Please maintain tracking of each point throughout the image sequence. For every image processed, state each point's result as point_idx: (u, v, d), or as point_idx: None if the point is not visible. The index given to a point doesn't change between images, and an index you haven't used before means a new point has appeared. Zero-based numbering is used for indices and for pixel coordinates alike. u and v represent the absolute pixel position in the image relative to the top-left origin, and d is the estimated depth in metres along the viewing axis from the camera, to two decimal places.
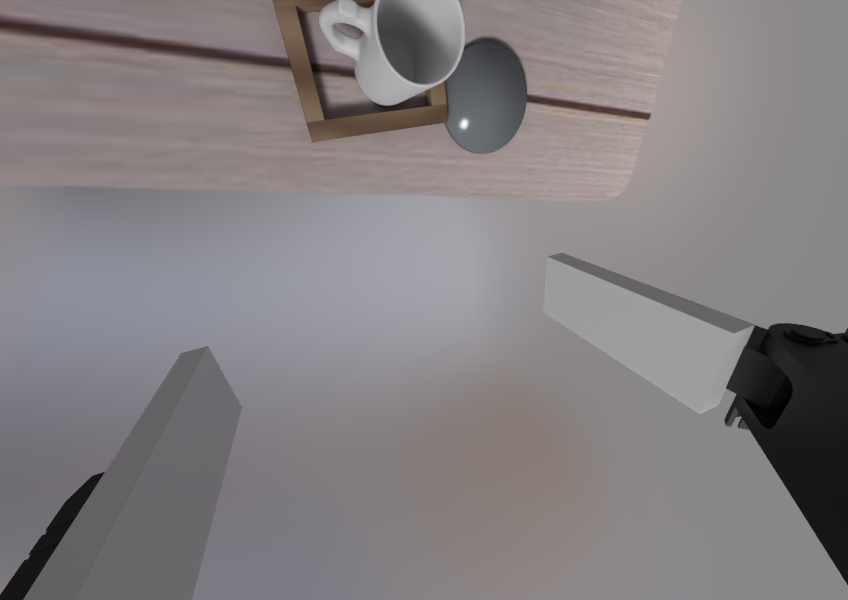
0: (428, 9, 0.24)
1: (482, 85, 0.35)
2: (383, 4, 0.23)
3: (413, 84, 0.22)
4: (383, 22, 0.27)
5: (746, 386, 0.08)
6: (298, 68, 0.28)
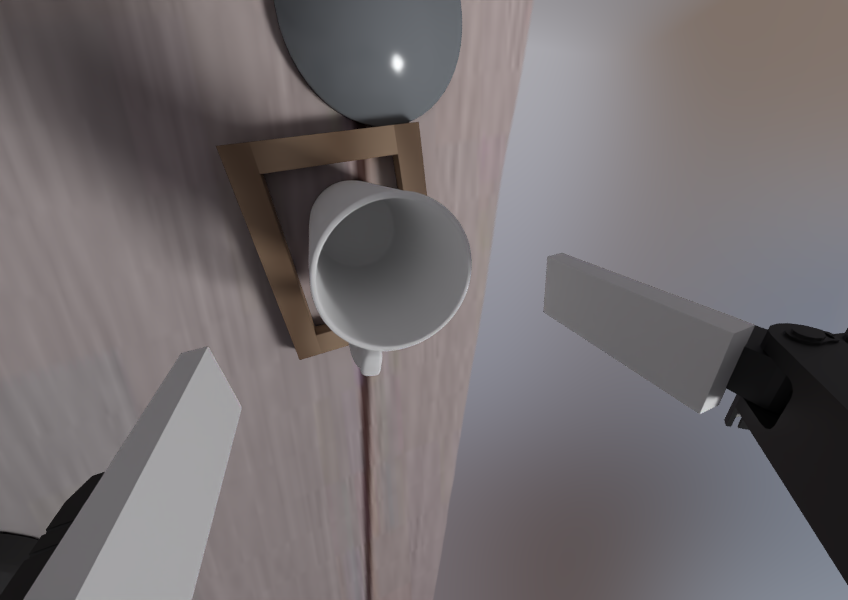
0: None
1: (352, 29, 0.17)
2: (328, 285, 0.16)
3: (467, 285, 0.14)
4: None
5: (746, 386, 0.08)
6: None
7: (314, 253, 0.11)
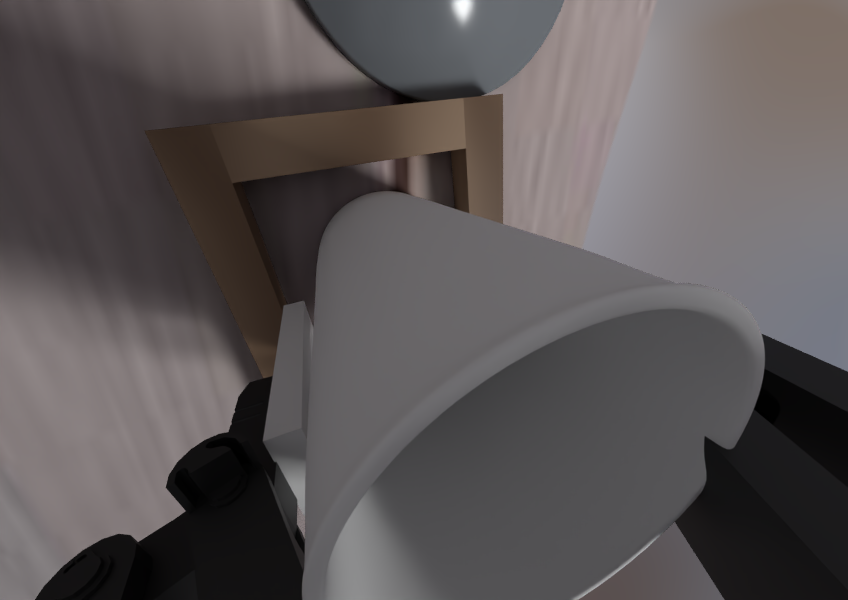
0: None
1: None
2: None
3: None
4: None
5: None
6: None
7: (320, 542, 0.03)
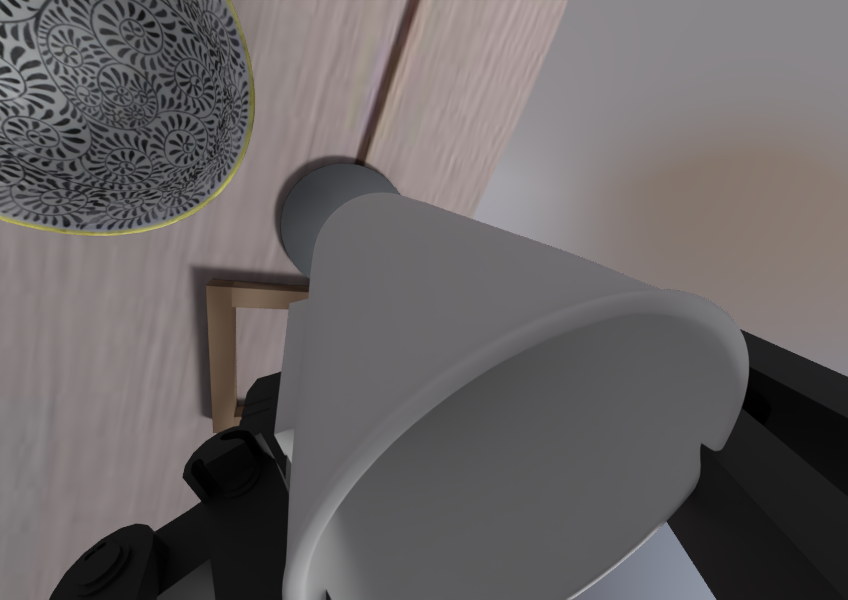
0: None
1: None
2: None
3: None
4: None
5: None
6: None
7: (298, 549, 0.03)
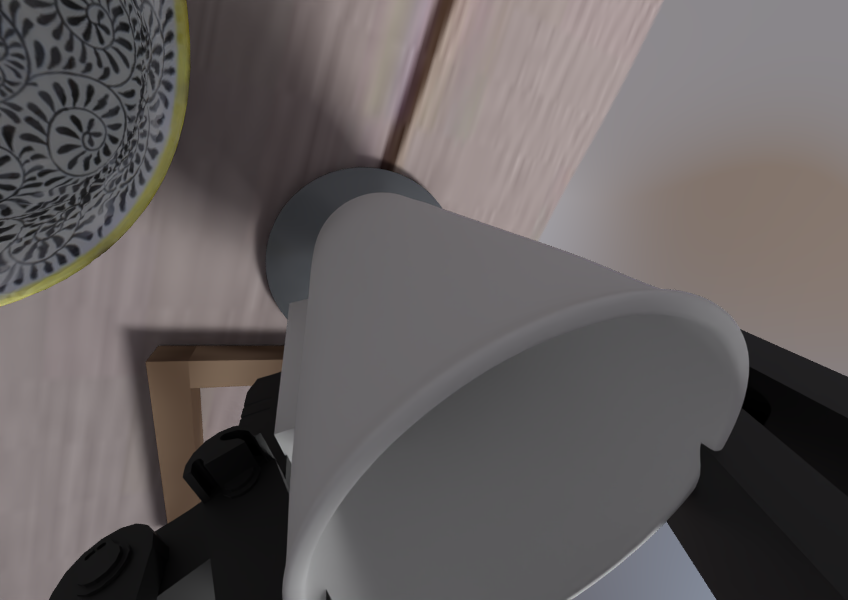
0: None
1: None
2: None
3: None
4: None
5: None
6: None
7: (297, 548, 0.03)
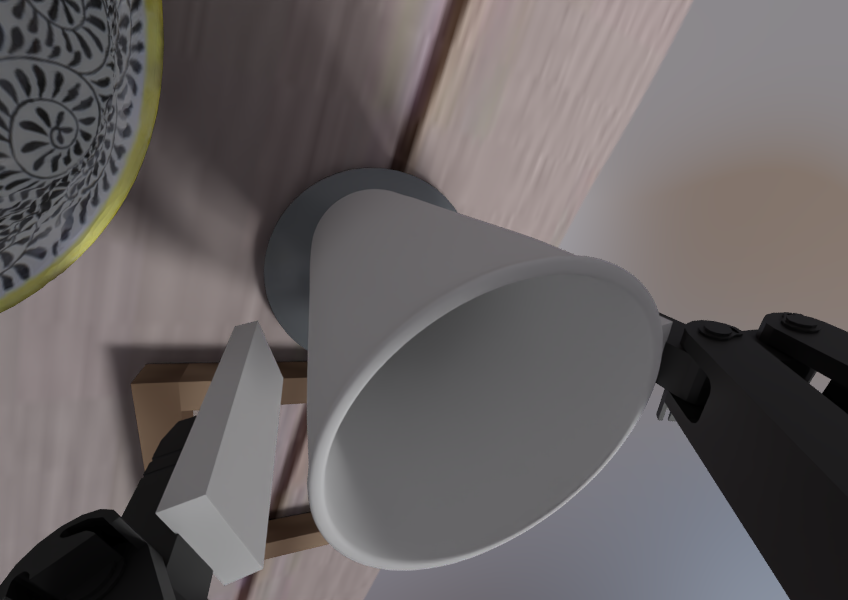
0: None
1: None
2: None
3: (633, 427, 0.07)
4: None
5: (672, 382, 0.08)
6: (272, 552, 0.21)
7: (322, 436, 0.04)
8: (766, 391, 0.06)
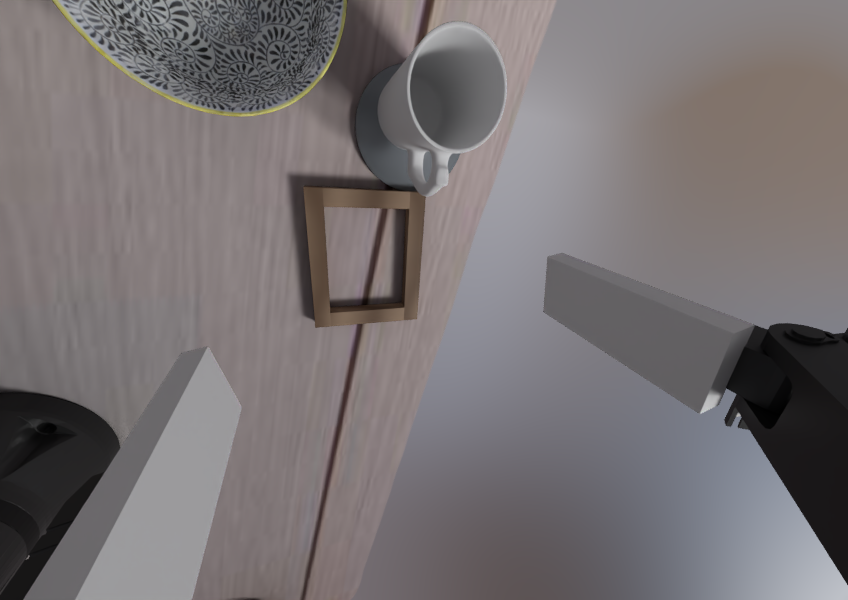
0: None
1: None
2: None
3: (505, 100, 0.20)
4: None
5: (746, 386, 0.08)
6: (368, 318, 0.36)
7: (409, 69, 0.17)
8: None
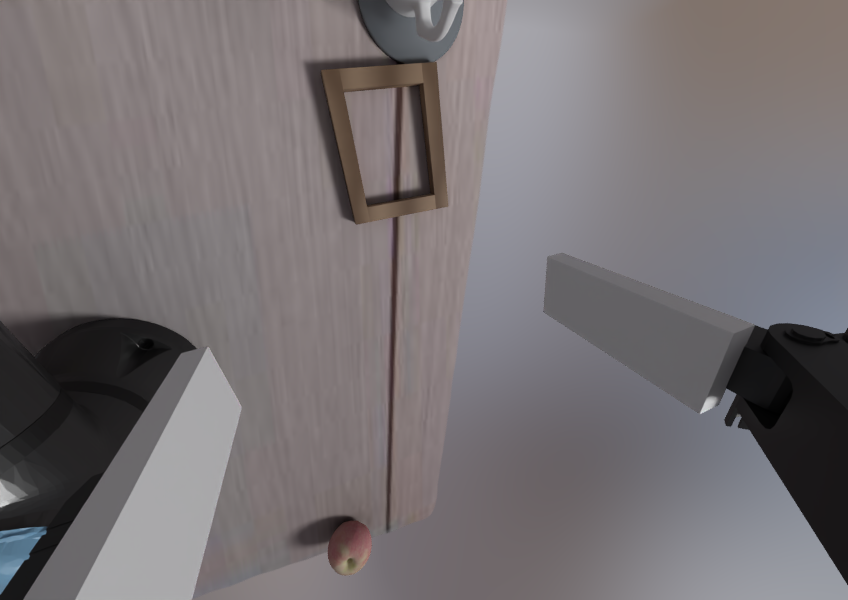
0: None
1: None
2: None
3: None
4: None
5: (746, 386, 0.08)
6: (403, 210, 0.37)
7: None
8: None
